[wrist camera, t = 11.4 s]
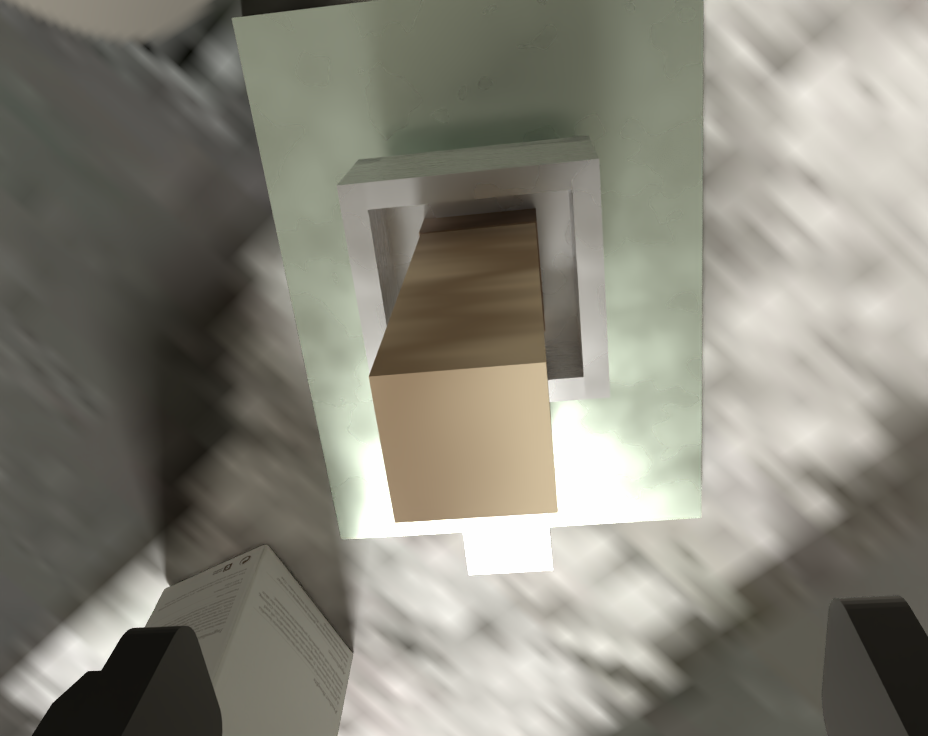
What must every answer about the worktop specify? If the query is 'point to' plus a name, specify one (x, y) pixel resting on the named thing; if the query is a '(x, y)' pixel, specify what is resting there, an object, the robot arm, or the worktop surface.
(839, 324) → the worktop surface
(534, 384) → the maple rail
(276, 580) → the skincare box
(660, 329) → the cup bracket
